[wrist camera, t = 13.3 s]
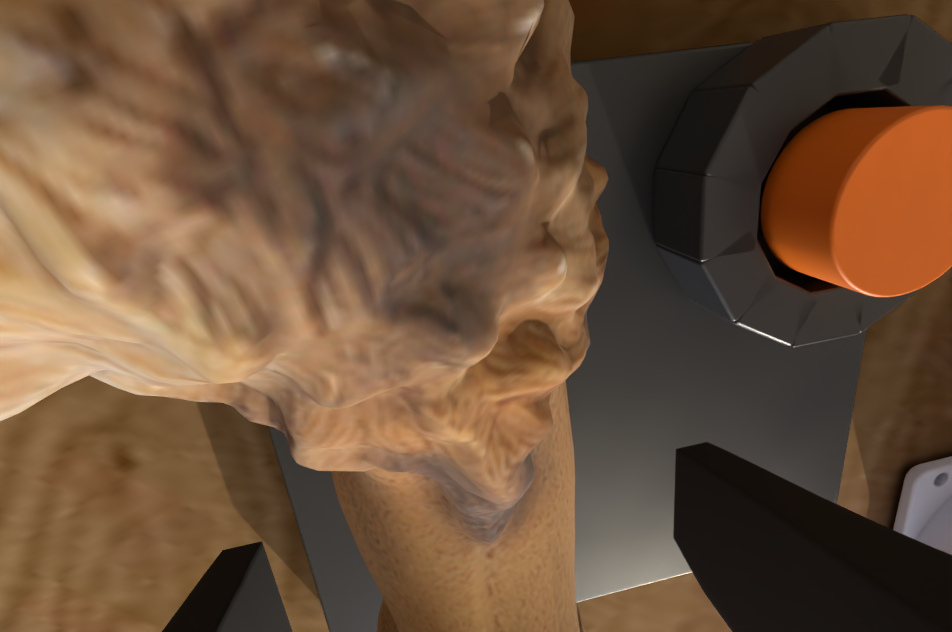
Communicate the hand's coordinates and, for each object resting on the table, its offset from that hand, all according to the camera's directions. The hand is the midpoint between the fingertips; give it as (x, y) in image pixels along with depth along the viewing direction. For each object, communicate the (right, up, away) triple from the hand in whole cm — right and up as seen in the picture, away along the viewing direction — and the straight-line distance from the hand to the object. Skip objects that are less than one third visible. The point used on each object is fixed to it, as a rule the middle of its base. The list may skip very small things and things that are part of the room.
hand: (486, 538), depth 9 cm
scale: (+2, +3, +5) cm, 6 cm away
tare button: (+7, +6, +1) cm, 9 cm away
